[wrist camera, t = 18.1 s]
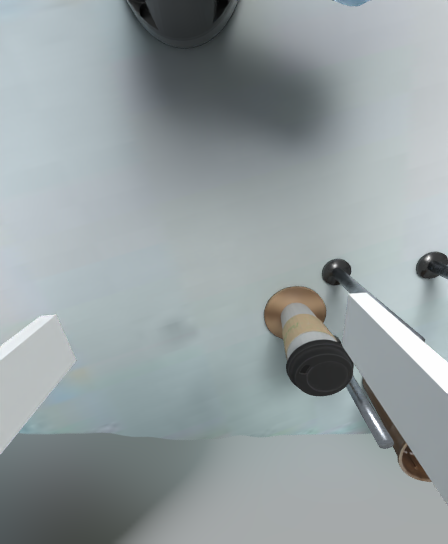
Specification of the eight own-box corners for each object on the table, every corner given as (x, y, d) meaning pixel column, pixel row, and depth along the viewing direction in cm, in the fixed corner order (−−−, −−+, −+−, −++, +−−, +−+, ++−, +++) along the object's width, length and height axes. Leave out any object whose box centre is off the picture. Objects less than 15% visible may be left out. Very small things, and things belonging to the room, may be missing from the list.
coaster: (263, 288, 45) (264, 290, 44) (326, 284, 44) (328, 286, 44) (264, 338, 50) (265, 341, 49) (321, 335, 49) (323, 338, 48)
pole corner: (323, 259, 43) (395, 325, 24) (351, 257, 42) (445, 322, 24) (321, 284, 45) (386, 362, 26) (347, 282, 44) (433, 359, 26)
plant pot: (357, 349, 50) (411, 423, 36) (435, 345, 50) (523, 418, 35) (348, 402, 57) (391, 483, 42) (417, 399, 56) (486, 481, 41)
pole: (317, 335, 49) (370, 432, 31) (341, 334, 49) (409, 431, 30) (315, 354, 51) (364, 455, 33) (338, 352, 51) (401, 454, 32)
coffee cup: (271, 296, 45) (289, 351, 31) (321, 292, 44) (363, 347, 30) (272, 336, 48) (289, 401, 34) (319, 333, 48) (355, 398, 34)
